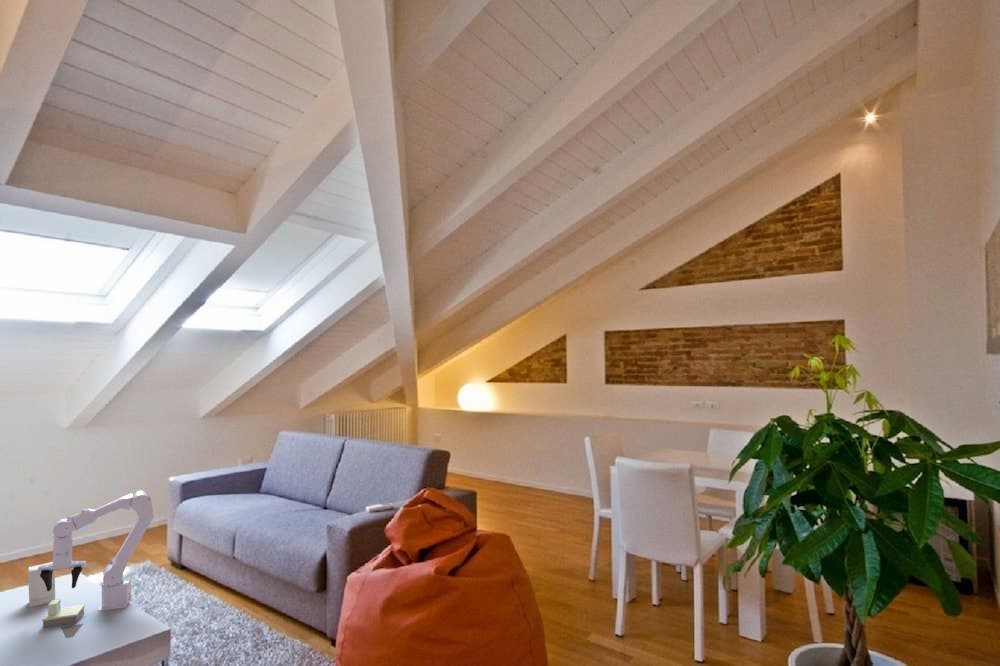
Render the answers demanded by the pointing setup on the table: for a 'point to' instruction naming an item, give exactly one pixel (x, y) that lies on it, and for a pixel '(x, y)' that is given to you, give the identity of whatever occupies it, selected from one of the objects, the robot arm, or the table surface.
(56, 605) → the lid
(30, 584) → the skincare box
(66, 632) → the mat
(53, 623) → the tub
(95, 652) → the table surface
